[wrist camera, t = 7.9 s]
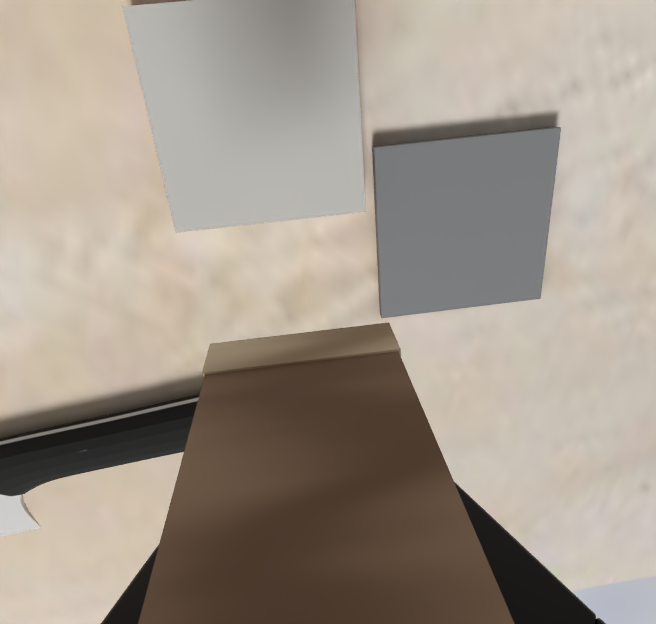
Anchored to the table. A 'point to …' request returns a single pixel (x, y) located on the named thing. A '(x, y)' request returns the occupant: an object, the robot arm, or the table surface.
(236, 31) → the tile
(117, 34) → the table surface
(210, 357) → the wooden post stub
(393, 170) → the pad
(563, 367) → the table surface
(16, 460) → the kitchen cleaver
